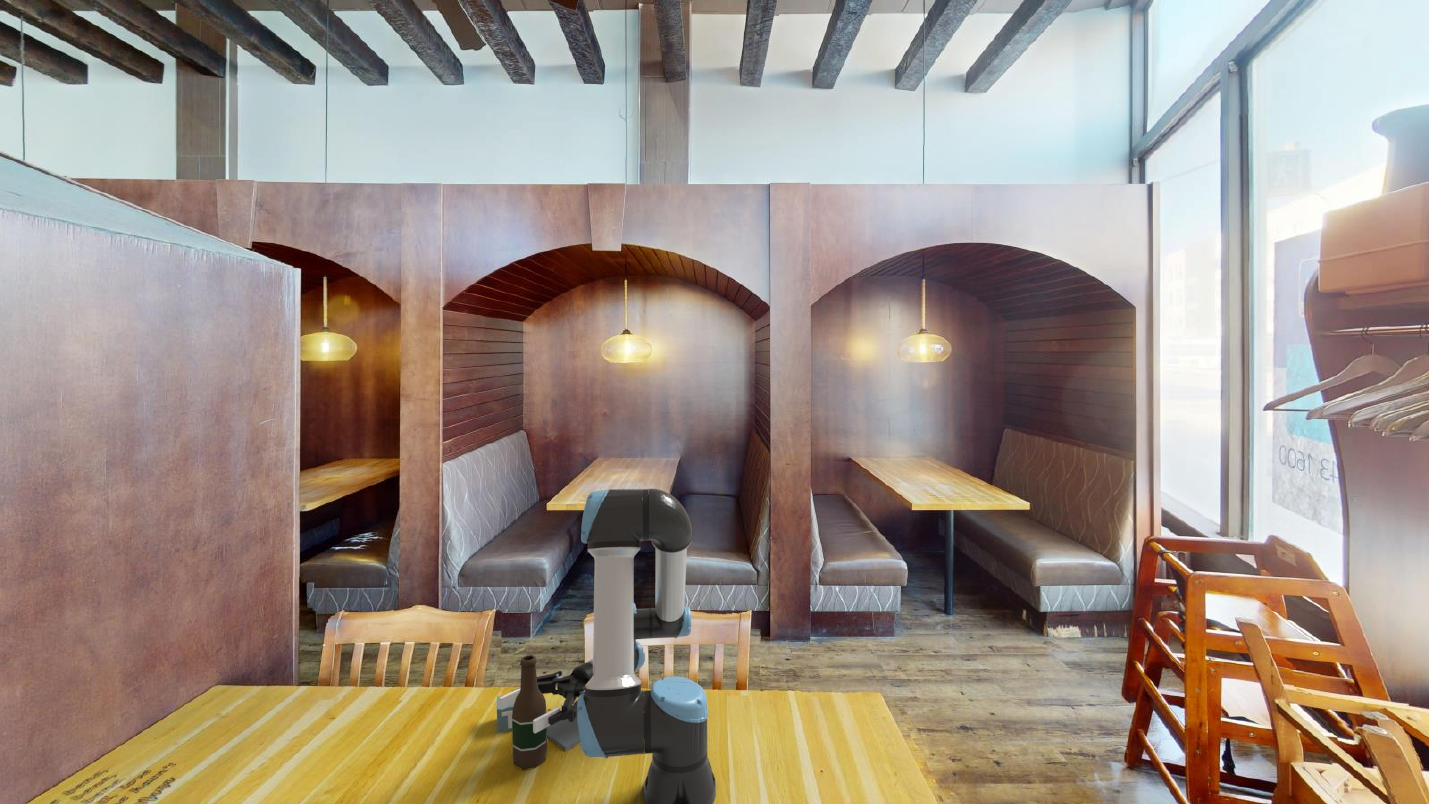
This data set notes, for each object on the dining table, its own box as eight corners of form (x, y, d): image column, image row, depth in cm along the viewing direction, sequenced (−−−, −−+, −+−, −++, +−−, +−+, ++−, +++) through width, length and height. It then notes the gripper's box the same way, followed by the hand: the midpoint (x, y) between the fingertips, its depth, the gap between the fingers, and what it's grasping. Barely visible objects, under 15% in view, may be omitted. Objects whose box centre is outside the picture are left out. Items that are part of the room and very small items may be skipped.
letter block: (497, 719, 151) (496, 696, 150) (522, 714, 153) (521, 692, 152) (497, 733, 145) (496, 710, 144) (523, 728, 147) (522, 705, 147)
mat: (606, 726, 147) (606, 723, 147) (566, 750, 138) (566, 747, 138) (576, 708, 155) (576, 705, 155) (537, 730, 146) (536, 727, 146)
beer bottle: (537, 772, 131) (535, 668, 129) (505, 768, 132) (503, 664, 131) (553, 750, 138) (552, 651, 137) (523, 746, 140) (521, 648, 138)
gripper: (625, 709, 141) (549, 754, 124) (562, 674, 157) (488, 710, 140) (625, 679, 140) (549, 720, 124) (562, 647, 156) (487, 679, 140)
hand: (516, 715), depth 132 cm, fingers open, 13 cm apart
